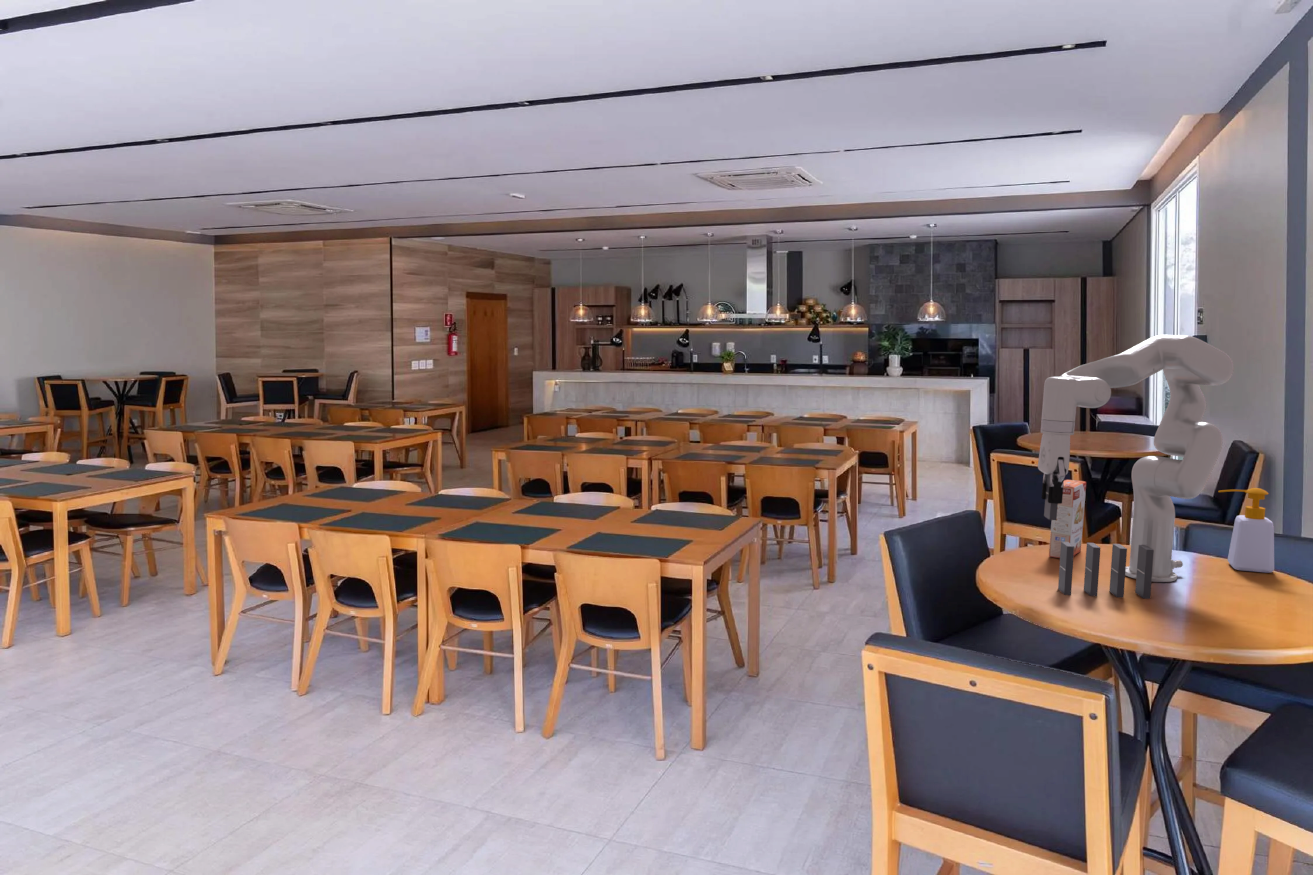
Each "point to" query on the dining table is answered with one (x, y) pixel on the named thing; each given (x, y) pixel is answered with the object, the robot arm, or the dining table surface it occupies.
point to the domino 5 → (1144, 571)
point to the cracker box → (1068, 518)
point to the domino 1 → (1050, 508)
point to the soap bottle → (1252, 537)
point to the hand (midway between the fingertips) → (1051, 500)
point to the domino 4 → (1118, 570)
